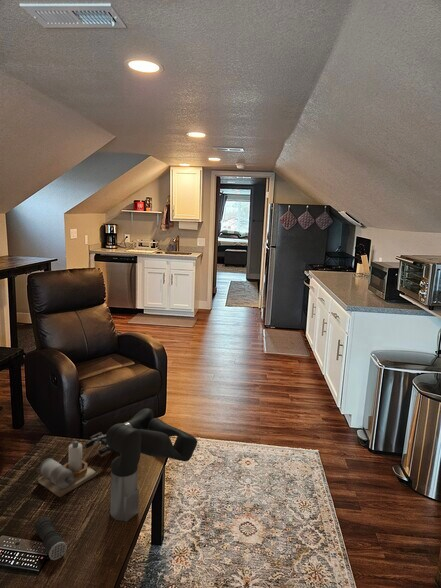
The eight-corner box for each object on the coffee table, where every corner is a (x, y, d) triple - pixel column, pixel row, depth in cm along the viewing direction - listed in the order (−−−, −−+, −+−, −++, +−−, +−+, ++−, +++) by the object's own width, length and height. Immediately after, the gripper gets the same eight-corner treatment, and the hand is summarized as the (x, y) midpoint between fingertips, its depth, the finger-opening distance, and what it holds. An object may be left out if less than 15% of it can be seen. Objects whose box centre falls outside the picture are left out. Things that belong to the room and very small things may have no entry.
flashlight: (32, 533, 136) (32, 518, 135) (49, 525, 140) (49, 511, 139) (49, 563, 125) (49, 548, 124) (67, 554, 129) (66, 539, 128)
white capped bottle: (84, 470, 167) (84, 441, 165) (74, 476, 163) (73, 447, 161) (76, 465, 170) (76, 437, 168) (65, 471, 166) (65, 442, 164)
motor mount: (98, 476, 167) (98, 457, 165) (61, 498, 153) (61, 478, 151) (74, 462, 175) (74, 444, 173) (38, 482, 161) (37, 463, 159)
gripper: (132, 445, 184) (104, 463, 171) (110, 436, 192) (81, 451, 178) (132, 430, 183) (103, 446, 169) (110, 421, 190) (81, 436, 177)
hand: (92, 449), depth 174 cm, fingers open, 8 cm apart
